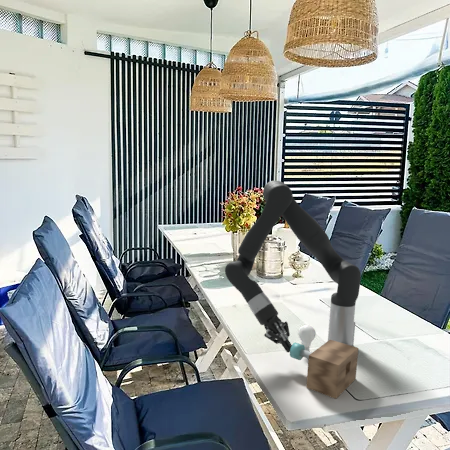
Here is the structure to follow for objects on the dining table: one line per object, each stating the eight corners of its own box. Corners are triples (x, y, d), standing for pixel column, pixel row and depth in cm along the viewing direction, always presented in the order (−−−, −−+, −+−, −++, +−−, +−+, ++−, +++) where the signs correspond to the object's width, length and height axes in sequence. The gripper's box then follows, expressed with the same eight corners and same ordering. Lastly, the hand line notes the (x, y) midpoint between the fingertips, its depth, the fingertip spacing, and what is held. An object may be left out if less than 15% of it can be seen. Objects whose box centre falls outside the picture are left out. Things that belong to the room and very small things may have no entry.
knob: (289, 359, 151) (290, 345, 150) (296, 354, 155) (297, 340, 154) (330, 374, 142) (331, 358, 141) (337, 368, 146) (338, 353, 145)
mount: (301, 385, 143) (303, 353, 141) (322, 367, 155) (325, 338, 153) (336, 398, 136) (338, 365, 134) (355, 379, 148) (358, 347, 146)
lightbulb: (312, 349, 169) (314, 322, 167) (315, 357, 163) (318, 328, 161) (295, 349, 169) (297, 321, 167) (298, 357, 163) (300, 328, 161)
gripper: (259, 307, 151) (288, 352, 146) (279, 298, 162) (307, 339, 156) (245, 318, 155) (273, 362, 150) (265, 309, 166) (293, 349, 160)
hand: (290, 350), depth 153 cm, fingers closed
